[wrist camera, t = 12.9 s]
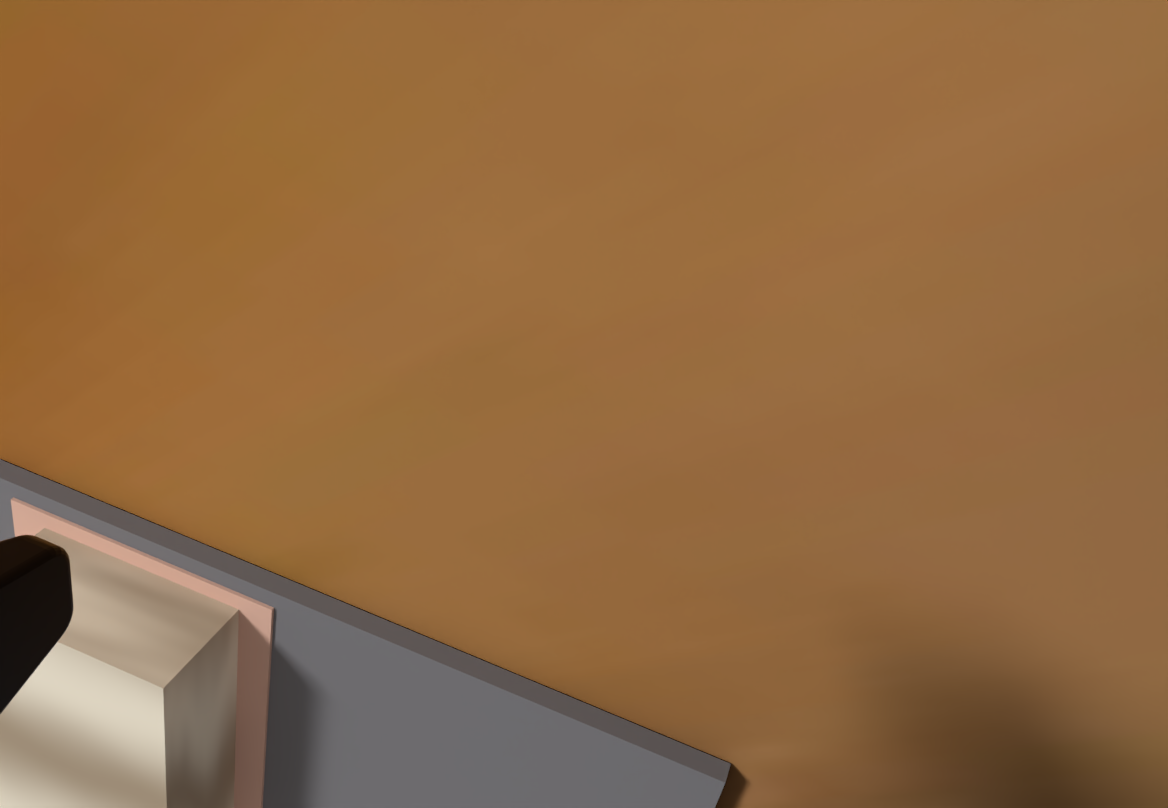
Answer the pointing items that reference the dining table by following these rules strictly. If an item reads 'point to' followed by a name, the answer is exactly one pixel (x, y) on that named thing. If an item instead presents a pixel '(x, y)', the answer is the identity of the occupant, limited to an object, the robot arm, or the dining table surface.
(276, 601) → the mat
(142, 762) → the block
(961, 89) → the dining table surface
